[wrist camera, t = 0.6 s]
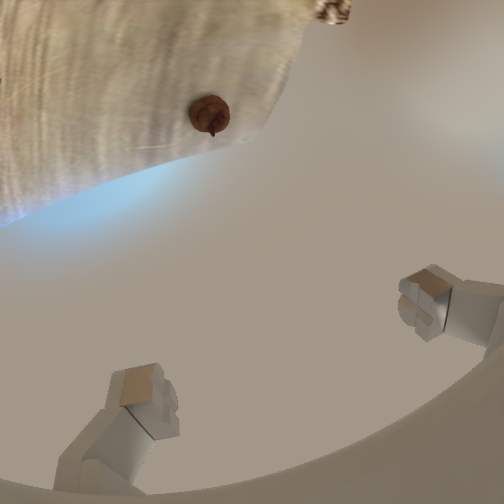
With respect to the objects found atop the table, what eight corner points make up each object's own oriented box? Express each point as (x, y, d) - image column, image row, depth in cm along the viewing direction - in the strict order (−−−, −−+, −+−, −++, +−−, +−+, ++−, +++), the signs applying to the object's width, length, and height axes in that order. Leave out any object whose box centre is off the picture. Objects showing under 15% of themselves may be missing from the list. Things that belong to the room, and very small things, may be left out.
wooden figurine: (197, 131, 51) (211, 154, 40) (181, 107, 47) (190, 122, 36) (227, 112, 50) (251, 129, 39) (212, 88, 47) (232, 97, 35)
